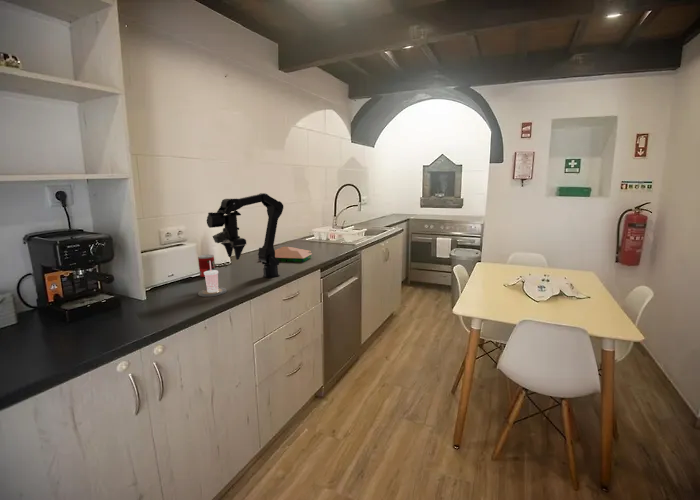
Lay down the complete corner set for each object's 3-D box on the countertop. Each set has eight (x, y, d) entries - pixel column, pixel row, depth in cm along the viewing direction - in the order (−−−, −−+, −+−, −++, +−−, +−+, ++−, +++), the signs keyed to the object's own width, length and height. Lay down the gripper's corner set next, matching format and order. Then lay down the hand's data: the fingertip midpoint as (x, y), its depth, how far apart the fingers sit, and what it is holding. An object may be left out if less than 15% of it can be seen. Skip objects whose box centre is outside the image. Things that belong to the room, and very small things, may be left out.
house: (273, 254, 247) (272, 243, 246) (317, 256, 238) (317, 244, 236) (255, 261, 226) (254, 249, 224) (303, 263, 216) (302, 250, 215)
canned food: (210, 278, 187) (208, 257, 185) (197, 277, 189) (194, 257, 187) (218, 274, 194) (216, 254, 192) (205, 274, 196) (203, 254, 194)
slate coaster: (221, 287, 169) (220, 285, 169) (230, 292, 160) (230, 291, 160) (194, 292, 162) (194, 291, 161) (203, 298, 152) (203, 297, 152)
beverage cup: (218, 292, 158) (215, 261, 156) (203, 293, 158) (200, 262, 155) (221, 288, 164) (218, 259, 162) (207, 289, 164) (204, 259, 161)
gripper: (206, 225, 169) (209, 258, 172) (221, 228, 155) (224, 263, 158) (229, 223, 177) (232, 254, 179) (245, 226, 162) (248, 260, 165)
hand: (233, 258), depth 170 cm, fingers open, 9 cm apart
